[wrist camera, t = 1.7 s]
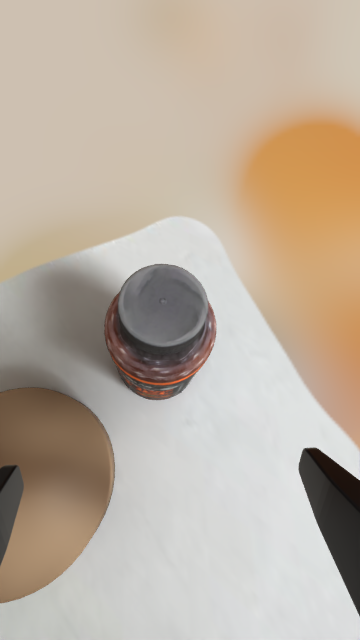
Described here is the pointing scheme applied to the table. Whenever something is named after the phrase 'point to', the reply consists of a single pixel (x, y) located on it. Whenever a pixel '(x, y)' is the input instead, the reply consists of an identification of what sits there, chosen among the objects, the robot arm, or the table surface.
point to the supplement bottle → (160, 330)
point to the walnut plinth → (51, 484)
